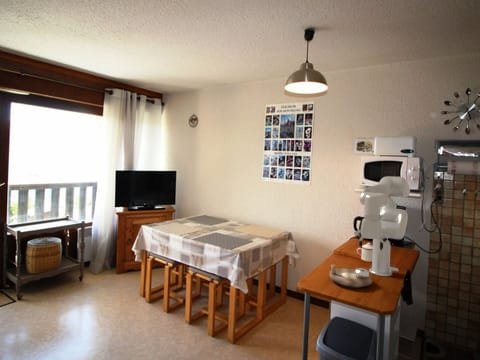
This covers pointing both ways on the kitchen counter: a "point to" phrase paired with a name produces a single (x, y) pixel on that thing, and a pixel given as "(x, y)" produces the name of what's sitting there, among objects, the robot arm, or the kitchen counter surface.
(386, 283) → the kitchen counter surface
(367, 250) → the teacup with lid
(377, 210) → the robot arm
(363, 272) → the cover
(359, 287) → the turntable base
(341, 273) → the disc
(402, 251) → the kitchen counter surface
